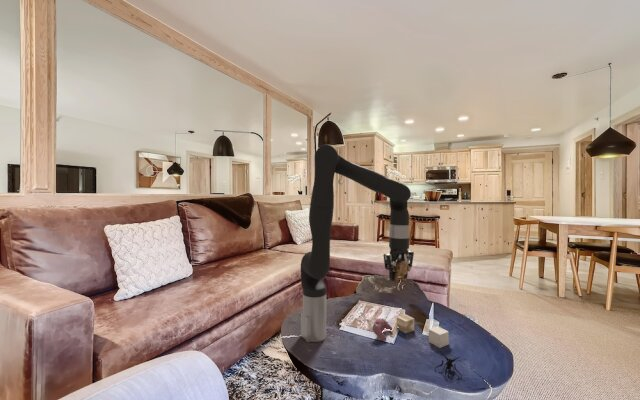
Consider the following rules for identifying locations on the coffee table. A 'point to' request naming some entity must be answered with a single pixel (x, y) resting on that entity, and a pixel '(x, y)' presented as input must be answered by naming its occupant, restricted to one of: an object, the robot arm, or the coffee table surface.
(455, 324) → the coffee table surface
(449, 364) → the creature
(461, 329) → the coffee table surface
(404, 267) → the lion figurine
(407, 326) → the birch block
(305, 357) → the coffee table surface
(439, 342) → the beige block
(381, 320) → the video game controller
